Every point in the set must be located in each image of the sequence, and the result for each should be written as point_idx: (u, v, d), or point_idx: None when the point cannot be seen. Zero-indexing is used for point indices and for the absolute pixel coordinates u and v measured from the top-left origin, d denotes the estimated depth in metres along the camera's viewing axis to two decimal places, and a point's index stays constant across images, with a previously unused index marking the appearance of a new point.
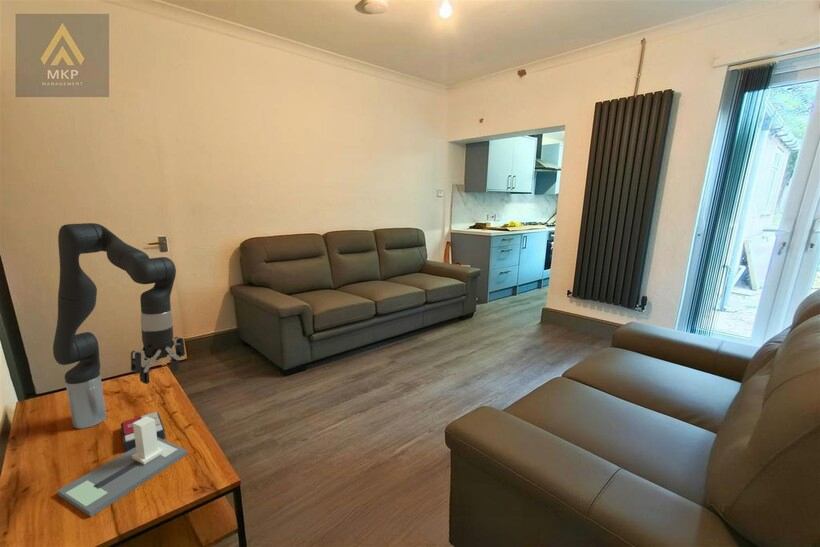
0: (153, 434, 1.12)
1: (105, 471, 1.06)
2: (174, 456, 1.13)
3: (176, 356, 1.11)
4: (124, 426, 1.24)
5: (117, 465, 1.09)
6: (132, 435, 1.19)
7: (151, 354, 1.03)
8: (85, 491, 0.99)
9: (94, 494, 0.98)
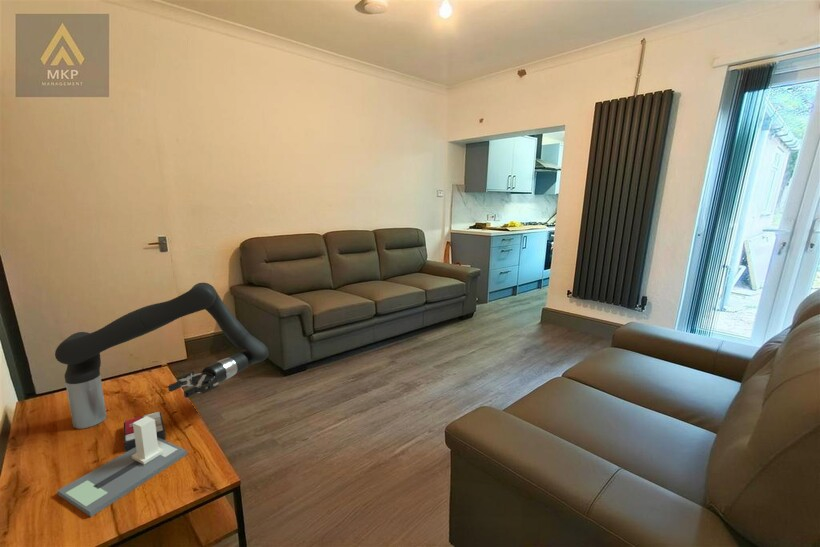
0: (153, 434, 1.12)
1: (105, 471, 1.06)
2: (174, 456, 1.13)
3: None
4: (126, 425, 1.25)
5: (117, 465, 1.09)
6: (132, 435, 1.20)
7: None
8: (85, 491, 0.99)
9: (94, 494, 0.98)
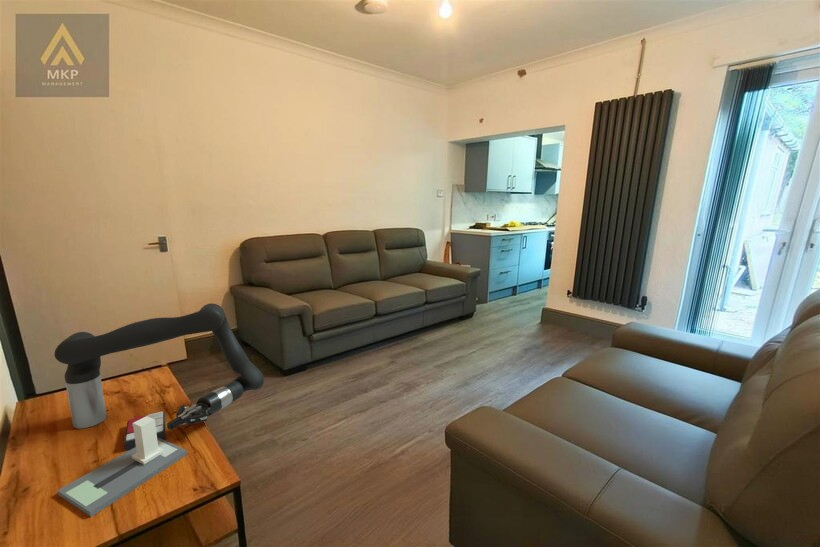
0: (153, 434, 1.12)
1: (105, 471, 1.06)
2: (174, 456, 1.13)
3: None
4: (129, 424, 1.25)
5: (117, 465, 1.09)
6: (133, 434, 1.20)
7: None
8: (85, 491, 0.99)
9: (94, 494, 0.98)
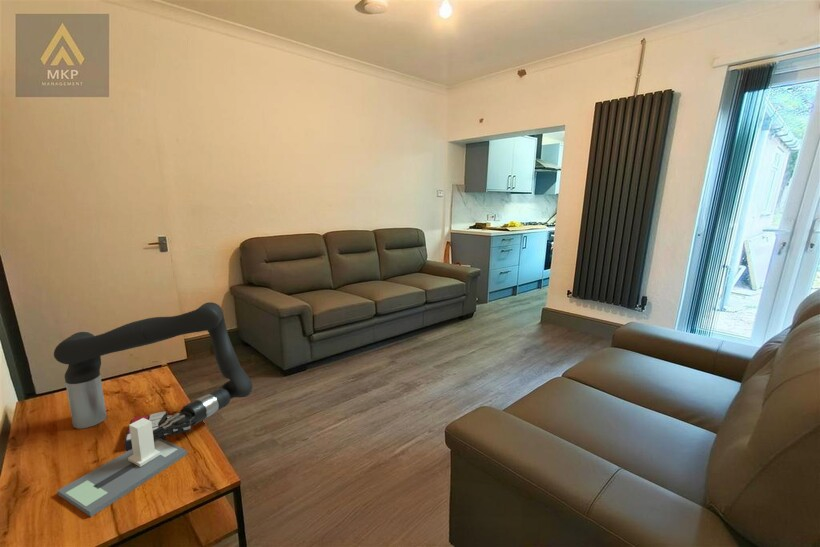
0: (150, 436, 1.11)
1: (105, 471, 1.06)
2: (174, 456, 1.13)
3: None
4: (131, 423, 1.26)
5: (117, 465, 1.09)
6: None
7: None
8: (85, 491, 0.99)
9: (94, 494, 0.98)
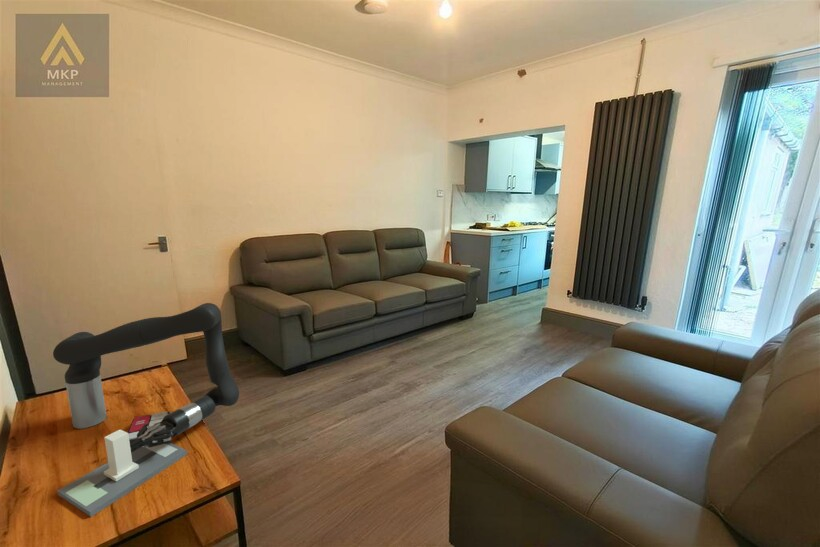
0: (126, 449, 1.05)
1: None
2: (174, 456, 1.13)
3: None
4: (133, 423, 1.26)
5: None
6: (134, 434, 1.20)
7: None
8: (85, 491, 0.99)
9: (94, 494, 0.98)
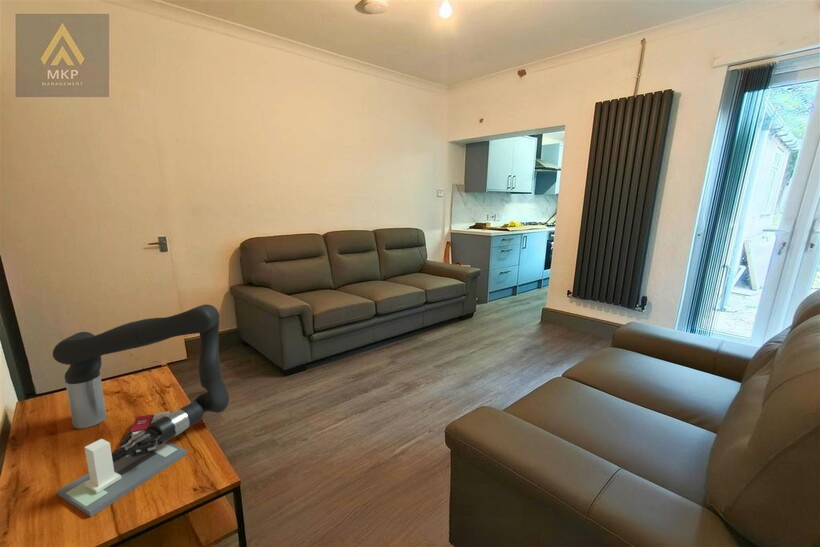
0: (108, 459, 1.01)
1: None
2: (174, 456, 1.13)
3: None
4: (135, 422, 1.26)
5: (117, 465, 1.09)
6: None
7: None
8: (85, 491, 0.99)
9: (94, 494, 0.98)
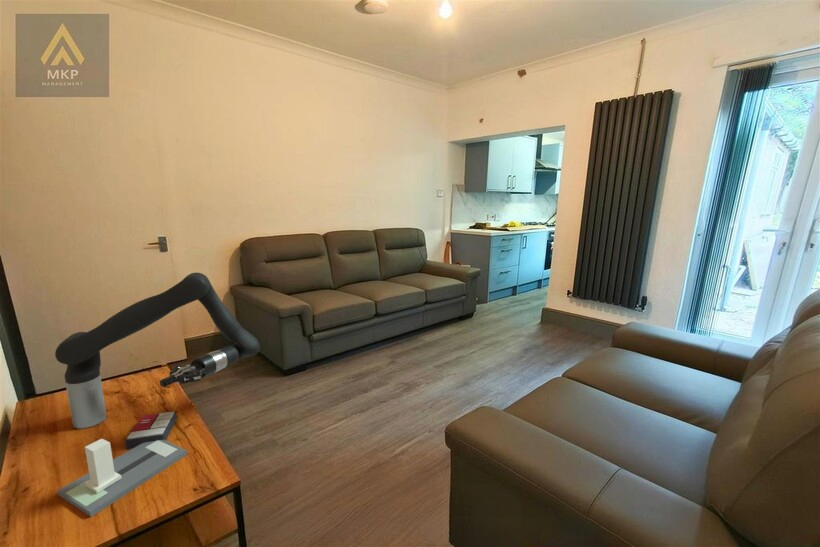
0: (108, 459, 1.01)
1: None
2: (174, 456, 1.13)
3: None
4: (139, 421, 1.27)
5: (117, 465, 1.09)
6: (136, 433, 1.20)
7: None
8: (85, 491, 0.99)
9: (94, 494, 0.98)
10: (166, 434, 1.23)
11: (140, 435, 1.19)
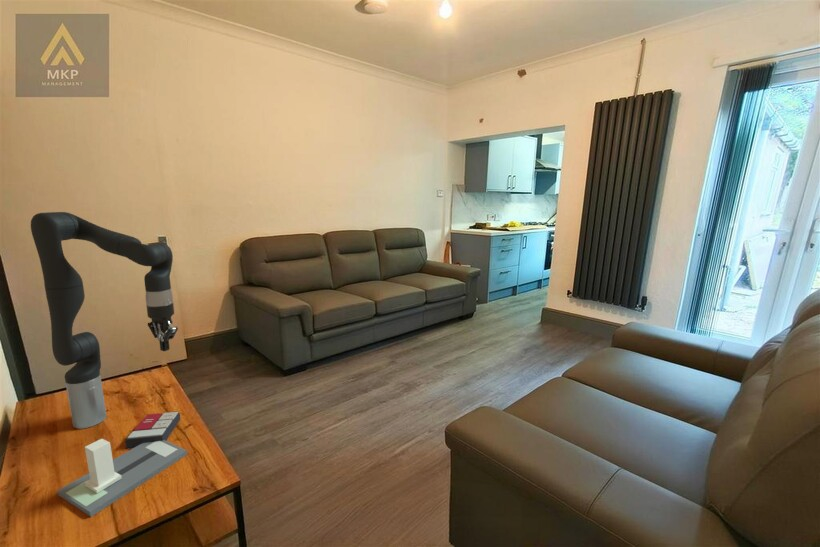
0: (108, 459, 1.01)
1: None
2: (174, 456, 1.13)
3: None
4: (143, 420, 1.28)
5: (117, 465, 1.09)
6: (137, 433, 1.21)
7: None
8: (85, 491, 0.99)
9: (94, 494, 0.98)
10: (166, 435, 1.23)
11: (140, 435, 1.19)
